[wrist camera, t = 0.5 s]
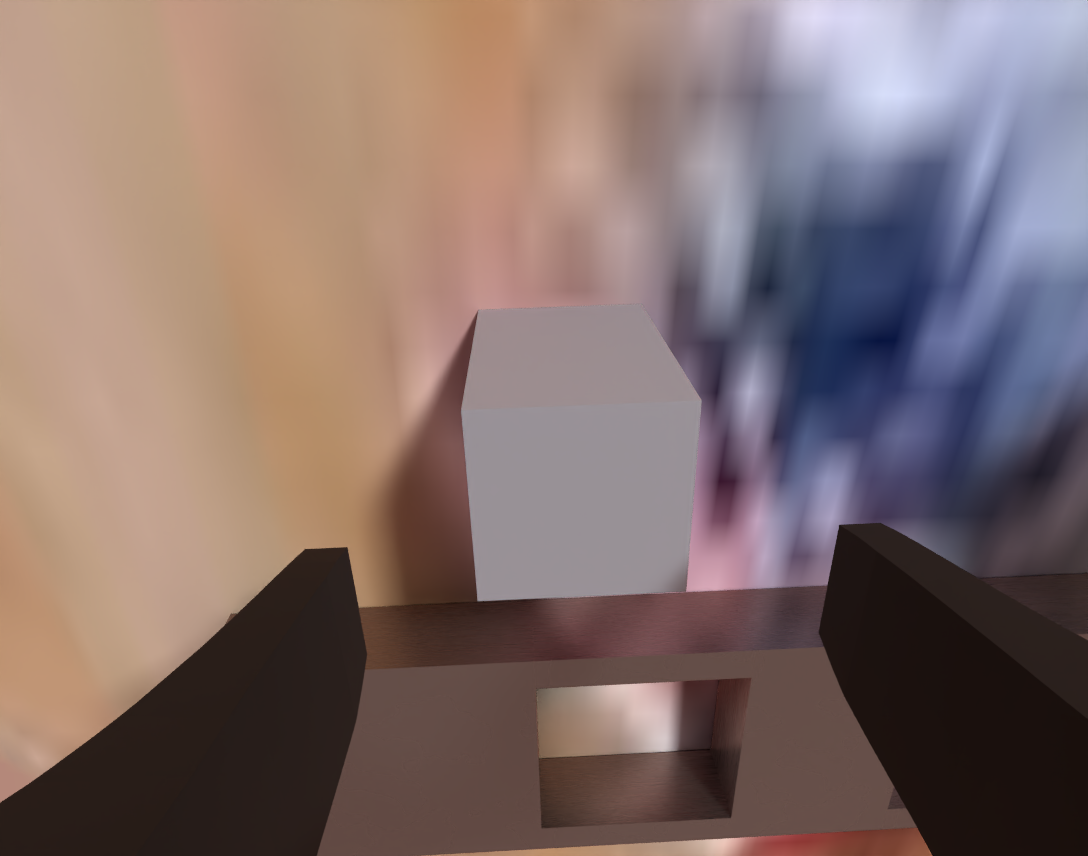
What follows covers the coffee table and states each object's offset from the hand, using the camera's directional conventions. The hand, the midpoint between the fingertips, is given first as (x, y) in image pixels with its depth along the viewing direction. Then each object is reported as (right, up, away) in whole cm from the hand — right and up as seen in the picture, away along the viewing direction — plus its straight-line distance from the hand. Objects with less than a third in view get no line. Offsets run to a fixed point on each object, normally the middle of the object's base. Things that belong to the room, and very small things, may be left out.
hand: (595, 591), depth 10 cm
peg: (0, +4, +7) cm, 8 cm away
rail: (+4, -6, +12) cm, 14 cm away
